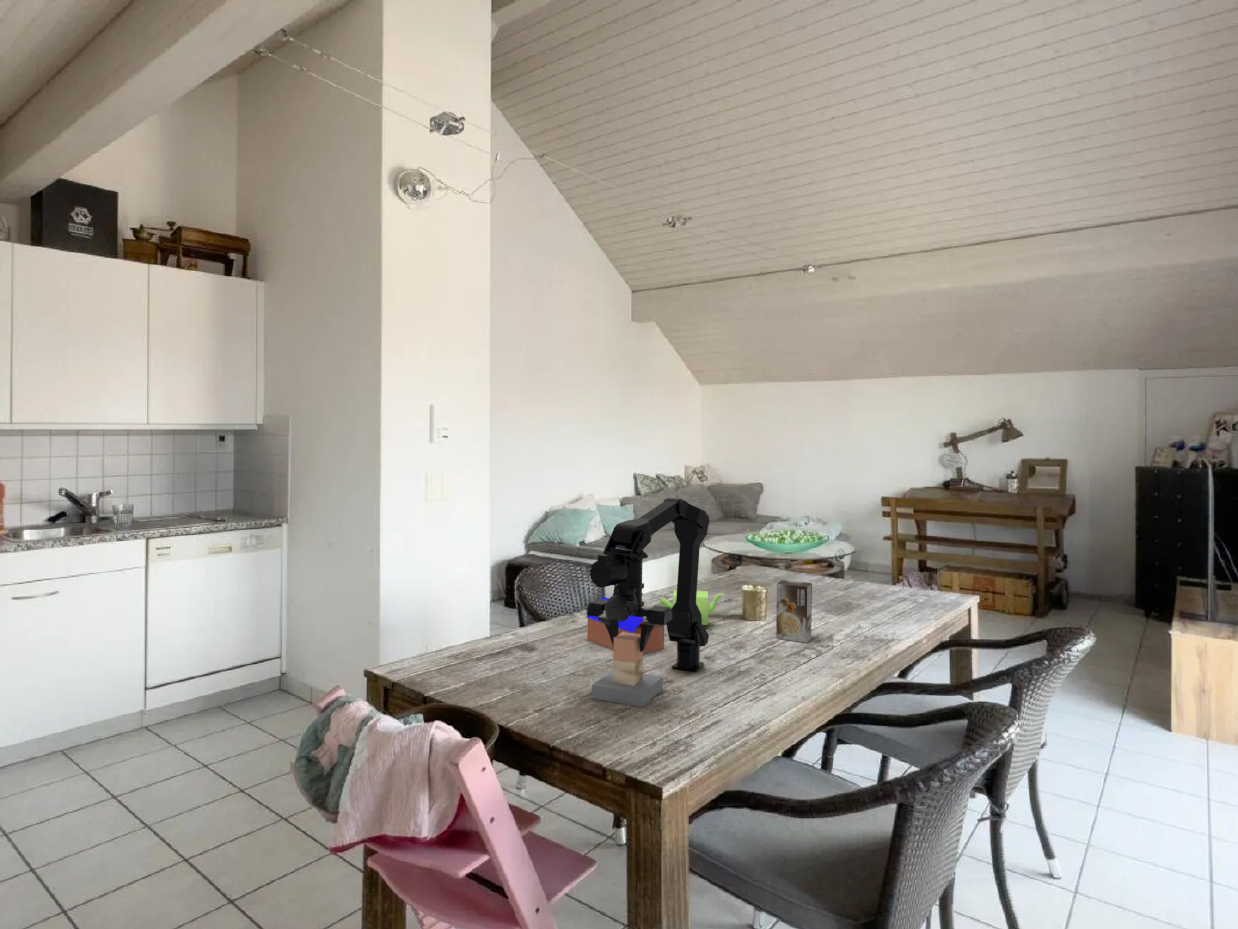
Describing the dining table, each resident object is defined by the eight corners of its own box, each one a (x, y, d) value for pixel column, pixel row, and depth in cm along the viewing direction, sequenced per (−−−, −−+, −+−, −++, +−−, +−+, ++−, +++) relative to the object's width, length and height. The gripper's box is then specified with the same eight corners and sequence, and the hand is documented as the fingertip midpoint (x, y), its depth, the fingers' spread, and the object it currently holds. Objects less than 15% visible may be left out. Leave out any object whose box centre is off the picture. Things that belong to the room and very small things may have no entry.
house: (632, 657, 189) (633, 613, 189) (585, 640, 204) (586, 599, 204) (665, 649, 197) (666, 606, 196) (618, 633, 212) (618, 593, 212)
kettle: (724, 626, 221) (725, 589, 220) (692, 634, 211) (693, 596, 211) (688, 616, 232) (689, 581, 231) (656, 624, 223) (657, 587, 222)
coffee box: (812, 638, 209) (813, 582, 208) (807, 643, 203) (808, 586, 203) (780, 633, 213) (782, 579, 213) (774, 638, 208) (776, 583, 207)
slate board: (614, 681, 170) (614, 669, 170) (662, 689, 165) (662, 676, 165) (591, 698, 159) (592, 684, 159) (642, 707, 154) (642, 693, 154)
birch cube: (622, 675, 165) (622, 653, 165) (642, 678, 163) (642, 657, 163) (613, 682, 161) (613, 660, 160) (633, 685, 159) (634, 663, 158)
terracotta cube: (622, 653, 165) (622, 632, 165) (642, 656, 163) (643, 635, 163) (613, 660, 160) (613, 637, 160) (634, 663, 158) (634, 640, 158)
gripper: (575, 583, 157) (574, 653, 158) (655, 591, 150) (654, 666, 151) (597, 574, 168) (596, 640, 168) (673, 581, 160) (672, 651, 161)
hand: (628, 649), depth 162 cm, fingers open, 6 cm apart
